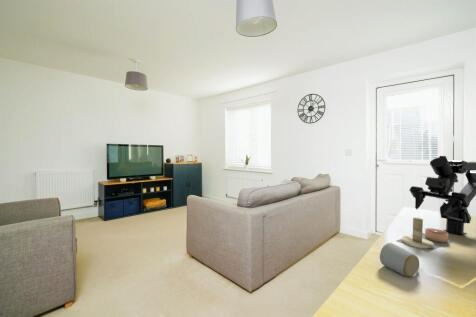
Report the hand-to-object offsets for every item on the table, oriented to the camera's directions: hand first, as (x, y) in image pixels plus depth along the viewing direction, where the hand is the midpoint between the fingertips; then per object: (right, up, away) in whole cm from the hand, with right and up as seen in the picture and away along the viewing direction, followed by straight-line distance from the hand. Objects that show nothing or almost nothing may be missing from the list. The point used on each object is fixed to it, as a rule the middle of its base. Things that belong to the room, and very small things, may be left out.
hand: (428, 211), depth 92 cm
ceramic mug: (-26, -14, -20) cm, 36 cm away
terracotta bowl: (+4, -12, +1) cm, 13 cm away
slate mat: (-2, -13, 0) cm, 13 cm away
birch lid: (-7, -12, -2) cm, 14 cm away
